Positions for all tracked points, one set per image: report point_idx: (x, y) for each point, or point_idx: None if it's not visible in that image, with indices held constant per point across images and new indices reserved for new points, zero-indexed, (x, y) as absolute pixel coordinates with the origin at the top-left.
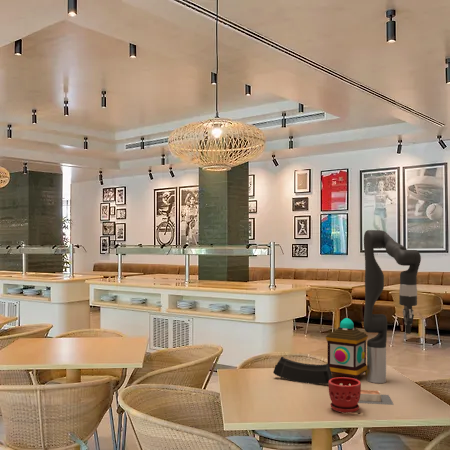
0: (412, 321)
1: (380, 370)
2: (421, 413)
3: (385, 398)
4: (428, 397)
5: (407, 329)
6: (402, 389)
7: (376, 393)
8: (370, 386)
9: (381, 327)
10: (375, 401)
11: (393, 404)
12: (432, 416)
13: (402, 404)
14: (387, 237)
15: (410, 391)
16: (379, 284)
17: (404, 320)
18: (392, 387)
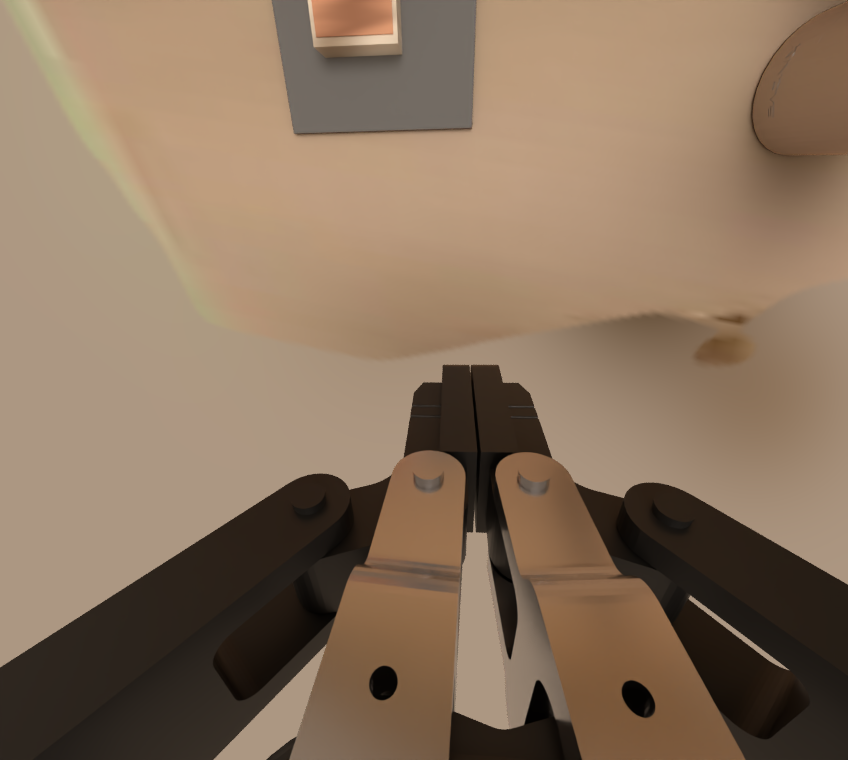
0: (230, 642)
1: (820, 96)
2: (237, 250)
3: (396, 96)
4: (477, 324)
5: (410, 419)
6: (607, 230)
7: (324, 11)
8: (689, 20)
9: None
10: None
11: (298, 131)
12: (217, 286)
13: (341, 186)
14: None
15: (569, 264)
16: None
17: (641, 533)
18: (650, 179)
